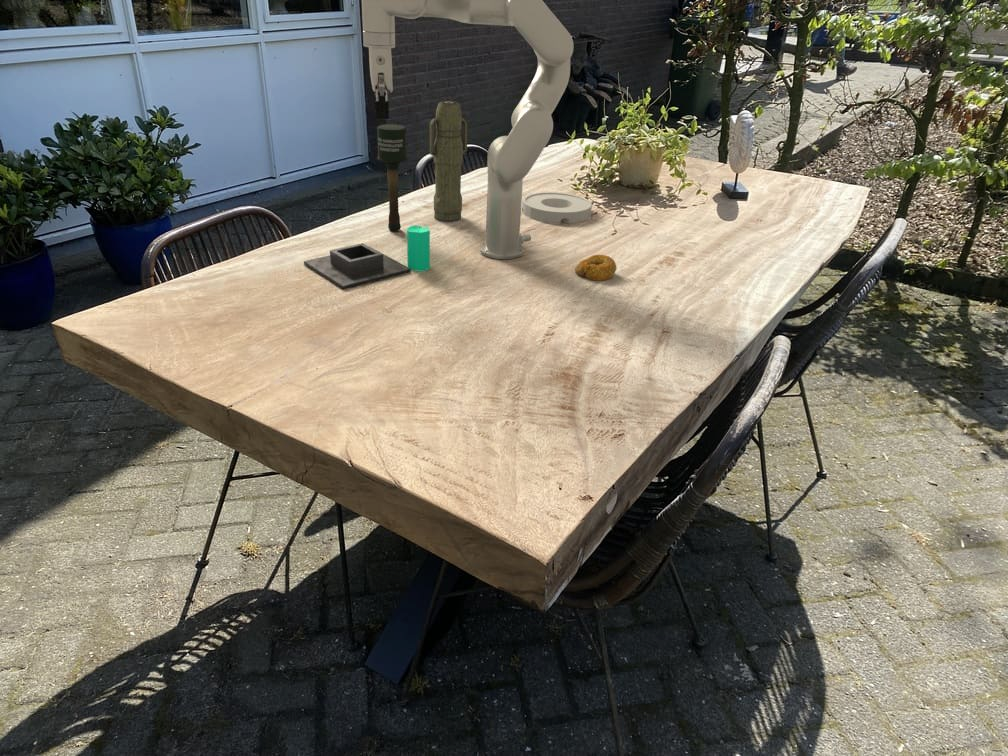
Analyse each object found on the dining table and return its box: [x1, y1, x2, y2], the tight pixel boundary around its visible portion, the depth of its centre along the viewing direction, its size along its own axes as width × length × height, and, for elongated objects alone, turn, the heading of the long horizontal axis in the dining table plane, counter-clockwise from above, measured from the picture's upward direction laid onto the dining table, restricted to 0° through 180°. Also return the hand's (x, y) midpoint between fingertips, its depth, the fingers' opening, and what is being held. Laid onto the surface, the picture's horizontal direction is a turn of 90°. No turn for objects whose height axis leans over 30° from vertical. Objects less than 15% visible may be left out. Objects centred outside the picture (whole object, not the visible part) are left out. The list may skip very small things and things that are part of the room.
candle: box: [406, 223, 431, 272], centre depth 185 cm, size 6×6×12 cm
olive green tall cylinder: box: [428, 100, 468, 223], centre depth 216 cm, size 9×12×35 cm
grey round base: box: [521, 191, 593, 224], centre depth 235 cm, size 23×23×4 cm
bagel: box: [574, 254, 617, 282], centre depth 189 cm, size 10×11×5 cm
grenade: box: [376, 123, 409, 233], centre depth 204 cm, size 8×9×30 cm
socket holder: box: [303, 242, 412, 291], centre depth 184 cm, size 20×20×4 cm
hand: (381, 114), depth 178 cm, fingers open, 9 cm apart
